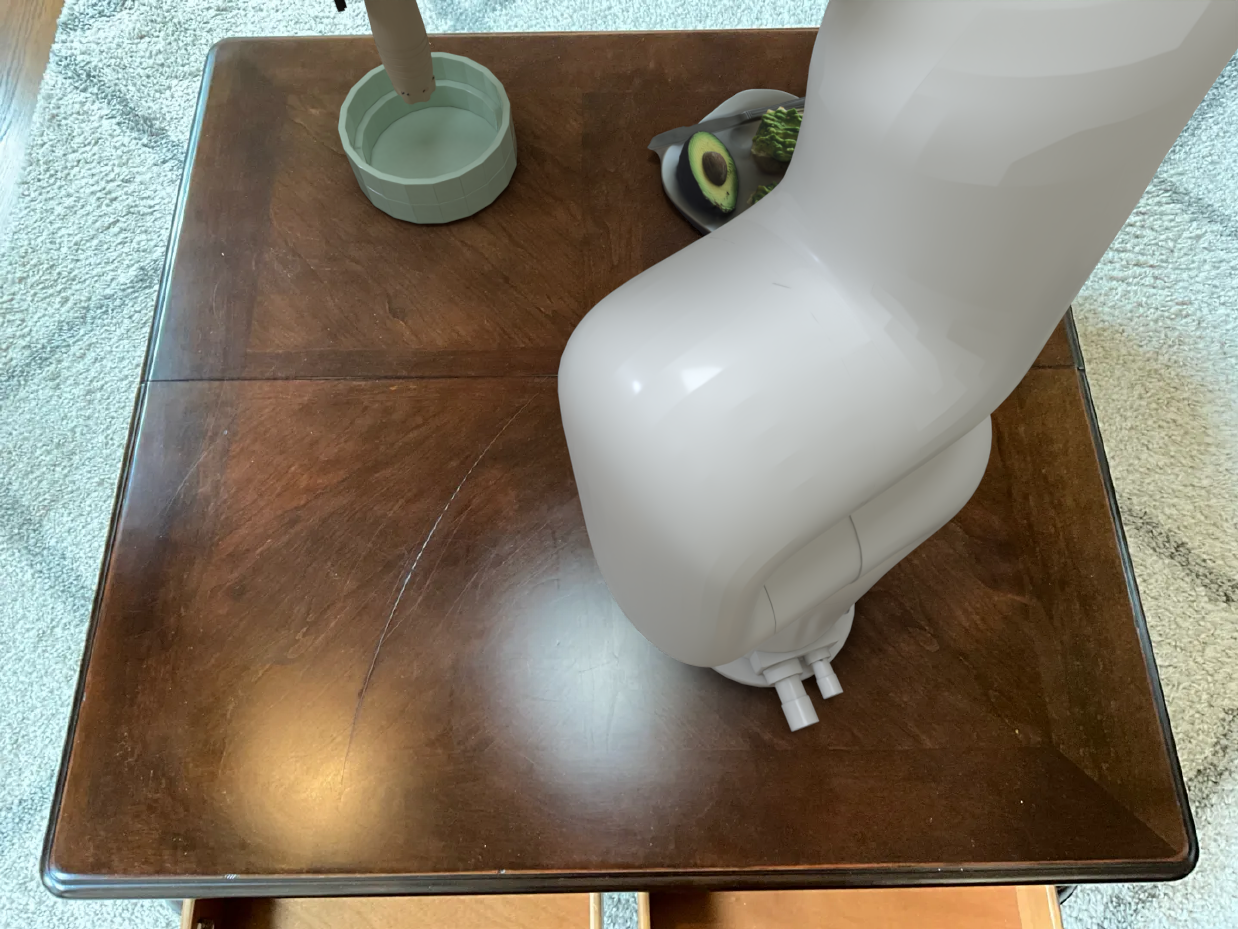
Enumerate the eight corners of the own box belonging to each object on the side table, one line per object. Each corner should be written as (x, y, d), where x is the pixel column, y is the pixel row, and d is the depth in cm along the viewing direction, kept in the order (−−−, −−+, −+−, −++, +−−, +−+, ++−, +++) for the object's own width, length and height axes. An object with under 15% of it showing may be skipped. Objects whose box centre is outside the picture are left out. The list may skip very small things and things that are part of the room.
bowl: (537, 200, 76) (530, 156, 71) (378, 246, 75) (359, 204, 70) (492, 84, 82) (483, 34, 77) (342, 124, 80) (323, 76, 75)
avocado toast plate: (773, 58, 82) (781, 16, 78) (924, 166, 77) (941, 128, 73) (623, 174, 77) (623, 136, 73) (774, 298, 72) (782, 265, 68)
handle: (441, 123, 71) (394, -49, 57) (368, 103, 71) (304, -70, 58) (464, 79, 72) (424, -98, 58) (393, 61, 73) (337, -118, 59)
